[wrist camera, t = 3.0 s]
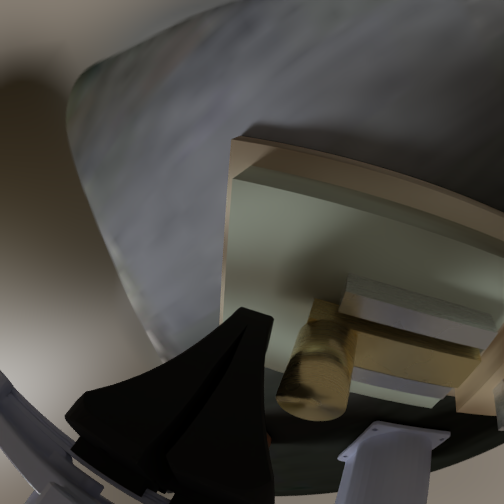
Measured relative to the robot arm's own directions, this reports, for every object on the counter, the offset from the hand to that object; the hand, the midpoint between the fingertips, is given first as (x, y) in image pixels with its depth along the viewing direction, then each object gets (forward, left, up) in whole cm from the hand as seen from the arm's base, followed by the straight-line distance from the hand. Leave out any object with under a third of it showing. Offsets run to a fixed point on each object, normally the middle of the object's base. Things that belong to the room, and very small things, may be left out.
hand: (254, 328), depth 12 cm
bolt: (0, -6, -2) cm, 6 cm away
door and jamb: (0, -10, -5) cm, 11 cm away
